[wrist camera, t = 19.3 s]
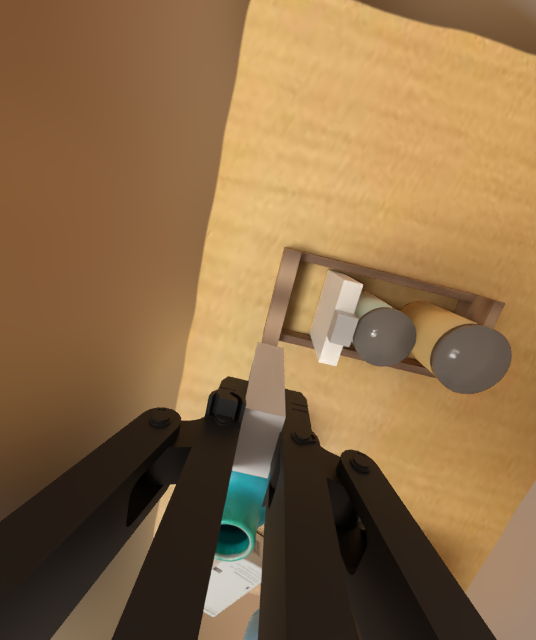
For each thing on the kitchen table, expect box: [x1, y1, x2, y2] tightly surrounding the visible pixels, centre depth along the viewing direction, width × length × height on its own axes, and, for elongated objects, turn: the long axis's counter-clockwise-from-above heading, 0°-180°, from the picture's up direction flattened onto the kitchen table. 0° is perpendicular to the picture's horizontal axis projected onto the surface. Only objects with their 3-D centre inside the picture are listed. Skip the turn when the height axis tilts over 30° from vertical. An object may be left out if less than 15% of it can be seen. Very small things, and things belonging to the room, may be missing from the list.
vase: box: [214, 471, 270, 562], centre depth 37 cm, size 11×11×19 cm
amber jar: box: [399, 301, 511, 394], centre depth 35 cm, size 7×7×12 cm
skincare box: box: [203, 533, 264, 617], centre depth 51 cm, size 8×6×15 cm
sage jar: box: [351, 291, 417, 366], centre depth 35 cm, size 6×6×11 cm
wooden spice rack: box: [262, 247, 505, 394], centre depth 37 cm, size 12×26×6 cm, turn 77°
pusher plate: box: [310, 269, 363, 366], centre depth 34 cm, size 9×2×12 cm, turn 167°
